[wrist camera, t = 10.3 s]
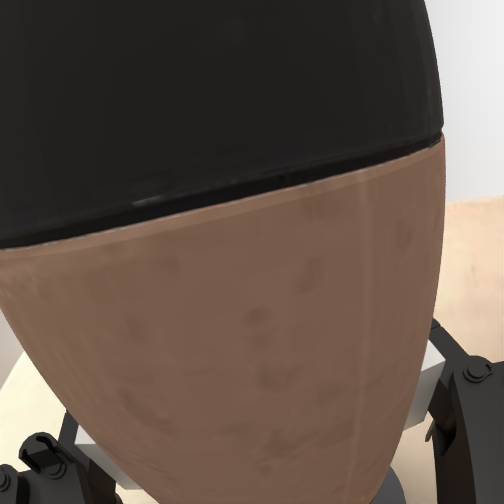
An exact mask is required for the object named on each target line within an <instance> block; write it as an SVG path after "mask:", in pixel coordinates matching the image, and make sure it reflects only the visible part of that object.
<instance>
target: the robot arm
mask: <svg viewBox="0 0 504 504" xmlns="http://www.w3.org/2000/svg"><path fill="white" fill-rule="evenodd" d="M427 411H429V413H430V414H431V416H432V417H433V421H432V424H431V426H430V428H429V430H428V432H427V434H426V439H425V442H428V441H429V439H430V437H431V436H432V440H433V449H434V459H435V471H436V485H437V504H504V361H501V362H497V363H491V362H490V361H488V360H487V359H486V358H483V357H480V356H469V355H468V354H467V353H466V352H465V351H464V350H463V349H462V348H461V346H460V345H459V344H458V343H457V342H456V341H455V340H454V339H453V338H452V336H451V335H450V334H449V333H448V332H447V331H446V330H445V329H444V328H443V327H441V326H440V324H439V322H438V321H437V320H436V319H433V318H432V323H431V328H430V333H429V338H428V343H427V348H426V352H425V356H424V360H423V365H422V369H421V373H420V376H419V380H418V384H417V387H416V391H415V394H414V398H413V401H412V405H411V408H410V411H409V414H408V417H407V420H406V423H405V426H404V429H403V430H406V429H408V428H410V427H412V426H414V425H417V424H419V423H421V422H423V421H424V419H425V416H426V414H427ZM66 412H67V413H65V416H64V419H63V423H62V427H61V431H60V434H59V438H58V441H57V440H56V439H55V438H54V437H53V436H52V435H51V434H49V433H45V432H39V433H35V434H33V435H31V436H29V437H28V438H27V439H26V440H25V441H24V442H23V444H22V446H21V448H20V450H19V457H18V458H19V459H20V460H21V461H23V462H24V463H25V464H26V465H27V466H28V467H30V468H31V470H27V471H23V472H18V471H17V470H16V469H14V468H13V467H12V466H11V465H7V464H2V465H0V504H123V502H122V500H121V498H120V496H119V495H118V494H117V493H115V488H116V483H118V484H119V485H120V486H121V487H122V488H124V489H125V490H135V489H142V488H141V487H140V486H139V485H138V484H136V483H135V482H134V481H133V480H132V479H131V478H130V477H129V476H128V475H127V474H126V473H125V472H124V471H122V470H121V469H120V468H119V467H118V466H117V465H116V464H115V463H114V462H113V461H112V460H111V459H110V458H109V457H108V456H107V455H106V454H105V452H104V451H103V450H102V449H101V448H100V447H99V446H98V445H97V444H96V443H95V442H94V441H93V440H92V439H91V437H90V436H89V435H88V434H87V433H86V432H85V431H84V429H83V428H82V427H81V426H80V425H79V424H78V422H77V421H76V420H75V419H74V418H73V416H72V415H71V414H70V413H69V412H68V410H67V409H66Z"/></svg>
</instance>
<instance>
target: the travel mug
mask: <svg viewBox="0 0 504 504" xmlns="http://www.w3.org/2000/svg"><path fill="white" fill-rule="evenodd" d="M443 124H444V119H443V107H442V97H441V88H440V80H439V72H438V66H437V59H436V53H435V48H434V42H433V37H432V32H431V27H430V23H429V18H428V14H427V10H426V6H425V2H424V0H0V309H1V310H2V312H3V314H4V316H5V318H6V320H7V321H8V323H9V325H10V327H11V328H12V330H13V332H14V333H15V335H16V337H17V339H18V340H19V342H20V343H21V345H22V347H23V348H24V350H25V352H26V353H27V355H28V356H29V358H30V359H31V361H32V362H33V364H34V365H35V367H36V368H37V370H38V371H39V373H40V374H41V376H42V377H43V379H44V380H45V381H46V383H47V384H48V385H49V387H50V388H51V390H52V391H53V392H54V394H55V395H56V396H57V398H58V399H59V400H60V401H61V403H62V404H63V405H64V407H65V408H66V409H67V410H68V412H69V413H70V414H71V415H72V416H73V418H74V419H75V420H76V421H77V422H78V424H79V425H80V426H81V427H82V428H83V429H84V431H85V432H86V433H87V434H88V435H89V436H90V437H91V439H92V440H93V441H94V442H95V443H96V444H97V445H98V446H99V447H100V448H101V449H102V450H103V451H104V452H105V454H106V455H107V456H108V457H109V458H110V459H111V460H112V461H113V462H114V463H115V464H116V465H117V466H118V467H119V468H120V469H121V470H122V471H124V472H125V473H126V474H127V475H128V476H129V477H130V478H131V479H132V480H133V481H134V482H135V483H136V484H138V485H139V486H140V487H141V488H142V489H143V490H144V491H145V492H147V493H148V494H149V495H150V496H151V497H152V498H154V499H155V500H156V501H157V502H158V503H160V504H371V502H372V501H373V499H374V497H375V495H376V494H377V492H378V490H379V488H380V486H381V484H382V482H383V481H384V478H385V476H386V474H387V471H388V469H389V466H390V464H391V462H392V459H393V456H394V454H395V451H396V449H397V446H398V443H399V441H400V438H401V435H402V432H403V429H404V426H405V423H406V420H407V417H408V414H409V411H410V408H411V405H412V401H413V398H414V394H415V391H416V387H417V384H418V380H419V376H420V373H421V369H422V365H423V360H424V356H425V352H426V348H427V343H428V338H429V333H430V328H431V323H432V318H433V312H434V307H435V301H436V294H437V287H438V280H439V272H440V264H441V255H442V244H443V232H444V216H445V183H446V179H445V178H446V172H445V171H446V168H445V167H446V166H445V139H444V134H443V132H442V130H441V129H442V127H443Z"/></svg>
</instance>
